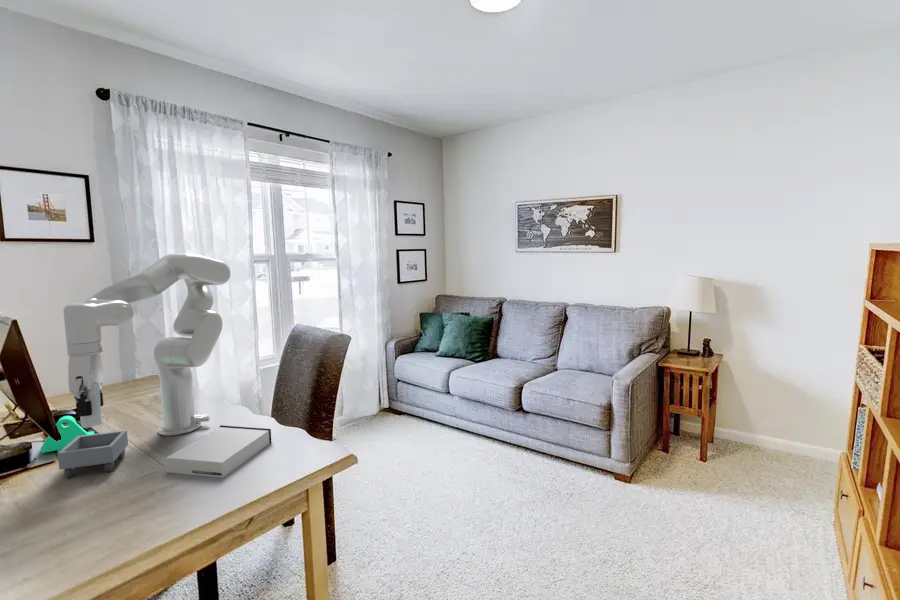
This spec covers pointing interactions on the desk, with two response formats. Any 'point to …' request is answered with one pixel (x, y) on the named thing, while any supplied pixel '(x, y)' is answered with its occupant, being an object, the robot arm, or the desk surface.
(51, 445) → the camera mount
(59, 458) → the grey square tray
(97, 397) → the skincare box
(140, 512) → the desk surface
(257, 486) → the desk surface
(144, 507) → the desk surface
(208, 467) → the disc drive
